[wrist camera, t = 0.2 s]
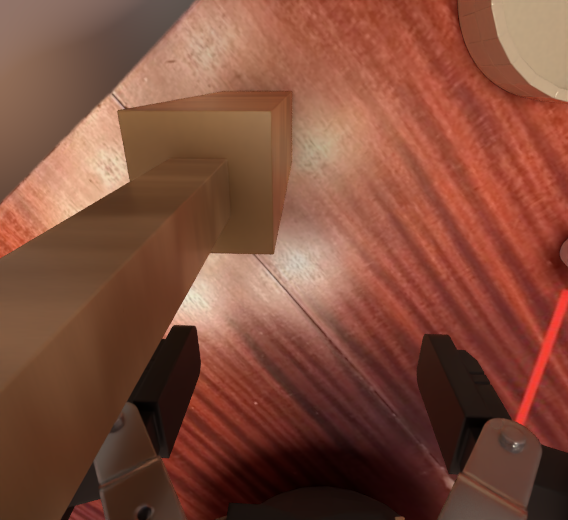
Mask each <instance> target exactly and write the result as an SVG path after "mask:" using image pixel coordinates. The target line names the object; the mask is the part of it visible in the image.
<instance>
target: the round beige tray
mask: <svg viewBox="0 0 568 520" xmlns="http://www.w3.org/2000/svg"><path fill="white" fill-rule="evenodd" d="M458 14H459V21H460V27H461V31H462V35H463V39H464V42H465V44H466V46H467V49H468V51H469V54H470V55H471V57H472V59H473V60H474V62H475V63H476V65H477V67H478V68H479V69H480V70H481V71H482V72H483V74H484V75H485V76H486V77H487V78H488V79H490V80H491V81H492V82H493V83H494V84H496V85H497V86H499V87H500V88H502V89H504V90H505V91H507V92H510V93H512V94H515V95H517V96H520V97H525V98H529V99H534V100H538V101H546V102H556V103H565V104H568V0H458Z"/></svg>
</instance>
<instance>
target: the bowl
mask: <svg viewBox="0 0 568 520" xmlns="http://www.w3.org/2000/svg"><path fill="white" fill-rule="evenodd" d="M260 505H268V506H271V507H274V508H277V509H280V510H283V511H286V512H289V513H292V514H295V515H298V516H301V517H304V518H309V517H314V516H319V515H323V514H328V513H332V512H337V511H341V510H362V511H379V512H385V518H386V520H405V518H404V517H401V516H400V515H399V514H397V513H396V512H395V511H394V510H392V509H391V508H390V507H388V506H387V505H385V504H383V503H381V502H379V501H377V500H375V499H373V498H370V497H368V496H365V495H363V494H360V493H358V492H355V491H353V490H348V489H341V488H335V487H329V486H322V487H303V488H299V489H295V490H291V491H287V492H283V493H281V494H278V495H276V496H274V497H272V498H270V499H268V500H267V501H265V502H263V503H261V504H260Z"/></svg>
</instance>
